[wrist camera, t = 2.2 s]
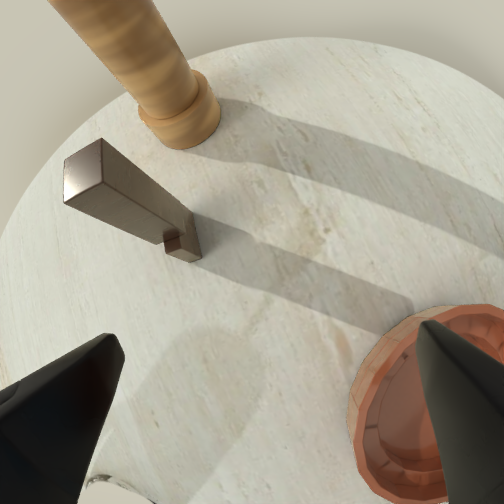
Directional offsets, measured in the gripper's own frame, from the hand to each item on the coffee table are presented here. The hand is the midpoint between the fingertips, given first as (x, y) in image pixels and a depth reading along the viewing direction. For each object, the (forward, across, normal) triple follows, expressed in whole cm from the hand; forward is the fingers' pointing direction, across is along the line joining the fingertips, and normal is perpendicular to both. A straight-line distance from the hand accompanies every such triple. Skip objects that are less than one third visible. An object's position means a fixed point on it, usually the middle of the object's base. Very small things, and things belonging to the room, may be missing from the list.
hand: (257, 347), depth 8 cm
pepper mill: (+22, +8, -7) cm, 24 cm away
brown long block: (+15, +7, +2) cm, 17 cm away
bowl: (+7, -11, +14) cm, 19 cm away
